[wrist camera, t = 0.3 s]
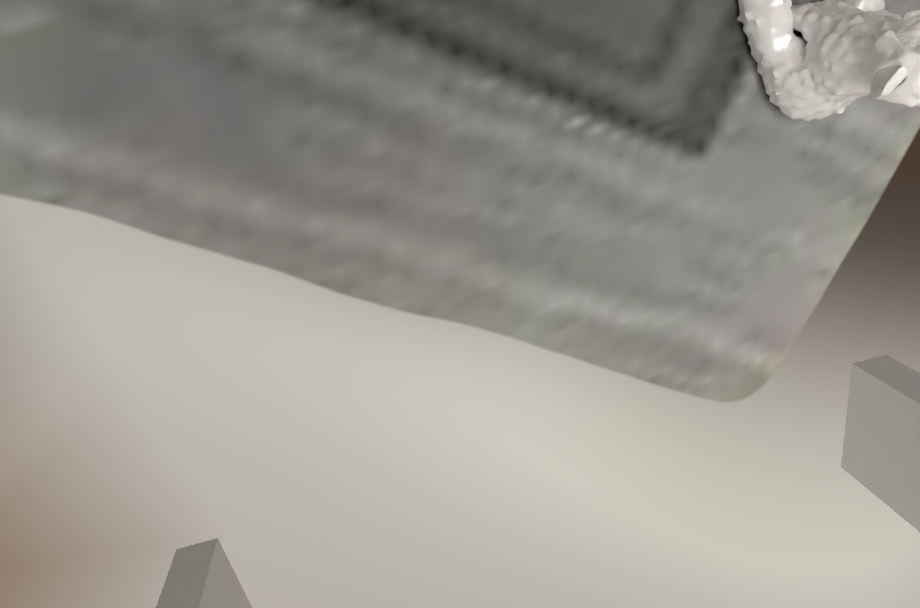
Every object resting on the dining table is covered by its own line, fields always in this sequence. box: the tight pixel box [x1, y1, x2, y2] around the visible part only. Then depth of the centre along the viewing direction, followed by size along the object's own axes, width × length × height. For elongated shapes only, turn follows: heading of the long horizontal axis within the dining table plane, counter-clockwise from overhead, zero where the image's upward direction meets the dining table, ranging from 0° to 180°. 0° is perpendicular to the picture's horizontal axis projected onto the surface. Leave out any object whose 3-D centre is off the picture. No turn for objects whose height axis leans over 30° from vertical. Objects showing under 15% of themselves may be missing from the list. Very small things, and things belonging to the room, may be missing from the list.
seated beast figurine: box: [737, 0, 920, 122], centre depth 32 cm, size 10×9×12 cm
